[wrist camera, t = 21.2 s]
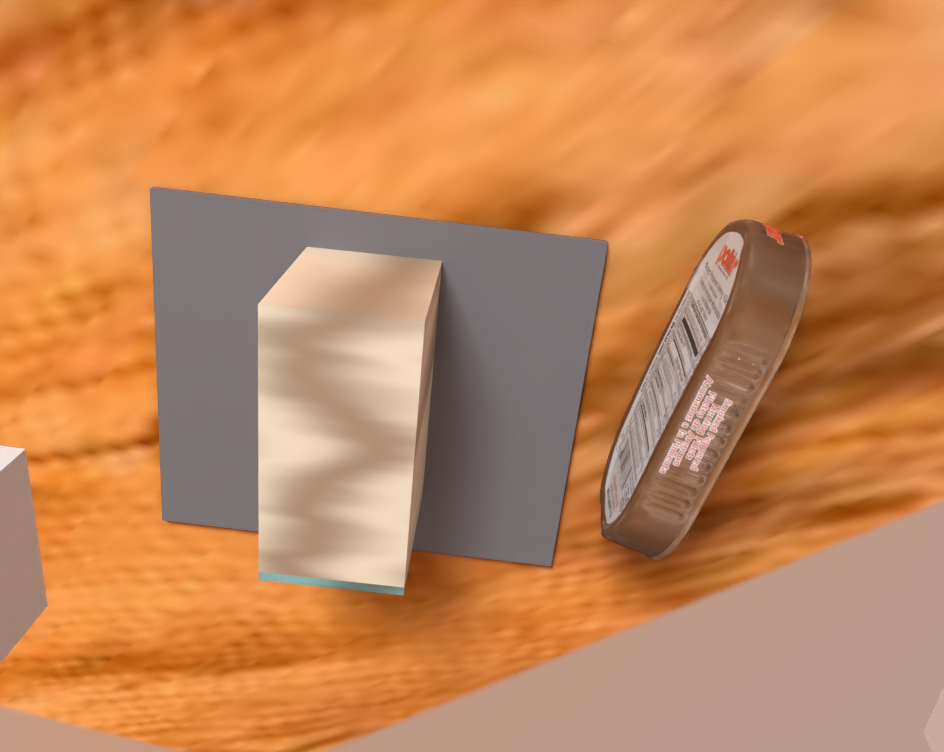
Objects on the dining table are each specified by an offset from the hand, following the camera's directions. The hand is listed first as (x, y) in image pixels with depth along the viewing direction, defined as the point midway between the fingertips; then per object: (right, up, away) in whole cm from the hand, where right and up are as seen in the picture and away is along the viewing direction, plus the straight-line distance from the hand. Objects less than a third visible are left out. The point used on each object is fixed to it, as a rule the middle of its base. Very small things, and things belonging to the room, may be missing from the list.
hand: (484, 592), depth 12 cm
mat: (-5, +2, +29) cm, 30 cm away
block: (-5, +7, +23) cm, 24 cm away
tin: (+9, +4, +28) cm, 30 cm away
